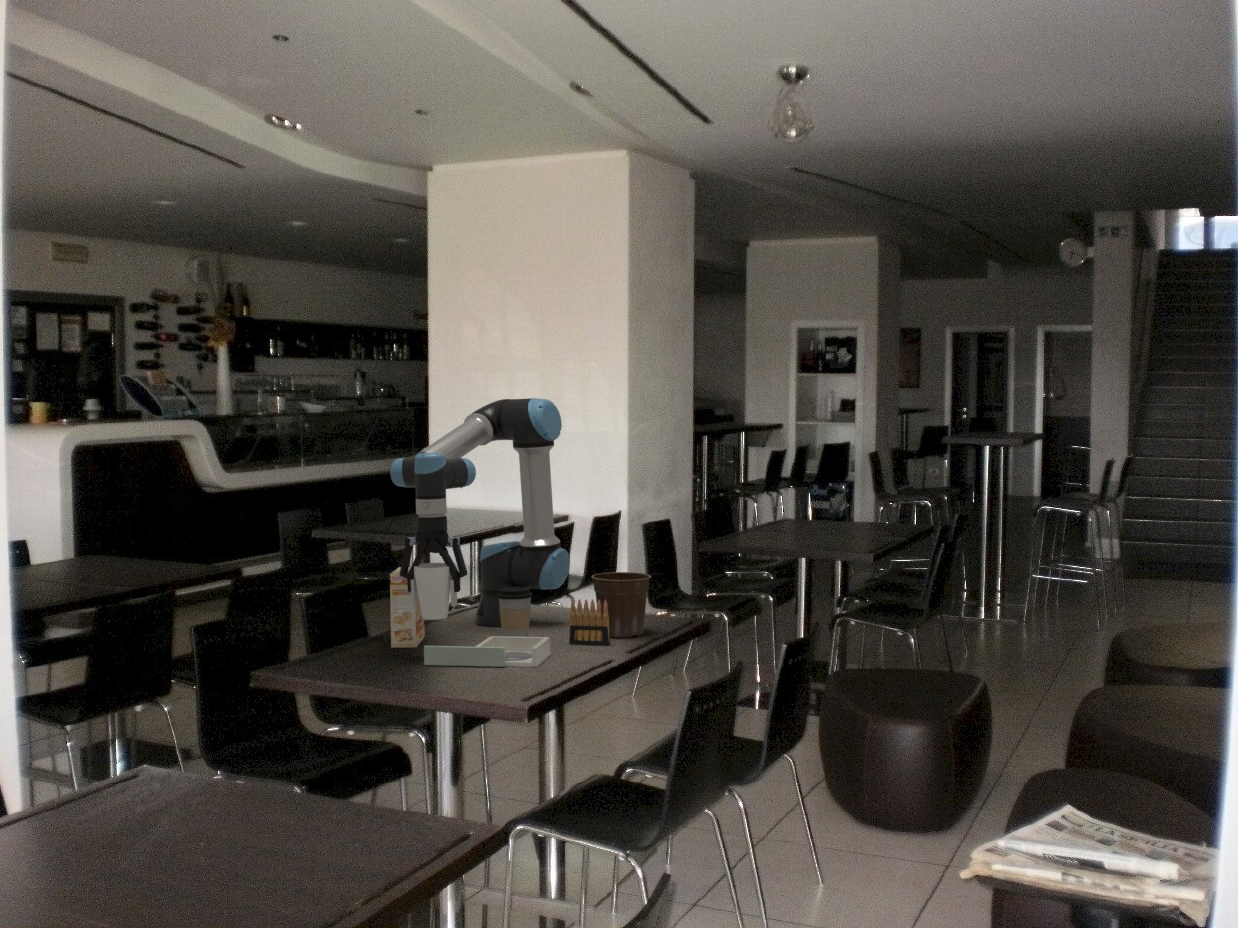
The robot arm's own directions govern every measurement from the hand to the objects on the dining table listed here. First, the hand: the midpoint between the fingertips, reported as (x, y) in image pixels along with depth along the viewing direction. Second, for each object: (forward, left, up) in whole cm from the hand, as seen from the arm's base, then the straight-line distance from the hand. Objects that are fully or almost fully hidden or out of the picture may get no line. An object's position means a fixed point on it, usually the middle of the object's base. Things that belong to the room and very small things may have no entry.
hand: (434, 604), depth 308 cm
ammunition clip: (-22, +35, -14) cm, 43 cm away
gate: (+8, +10, -13) cm, 18 cm away
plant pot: (-37, +41, -14) cm, 57 cm away
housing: (0, +20, -13) cm, 24 cm away
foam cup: (0, 0, -3) cm, 3 cm away
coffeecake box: (-20, -14, -14) cm, 28 cm away
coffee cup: (-18, +16, -14) cm, 27 cm away
